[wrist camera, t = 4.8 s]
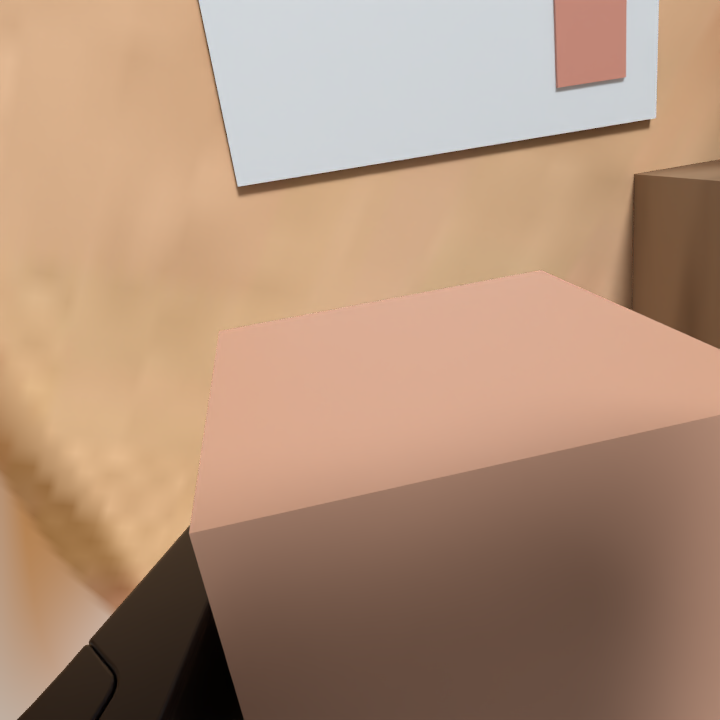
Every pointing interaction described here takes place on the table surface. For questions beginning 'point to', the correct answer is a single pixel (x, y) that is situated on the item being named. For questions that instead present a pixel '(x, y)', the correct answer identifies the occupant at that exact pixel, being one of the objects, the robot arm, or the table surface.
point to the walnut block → (678, 249)
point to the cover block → (465, 510)
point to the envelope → (420, 76)
